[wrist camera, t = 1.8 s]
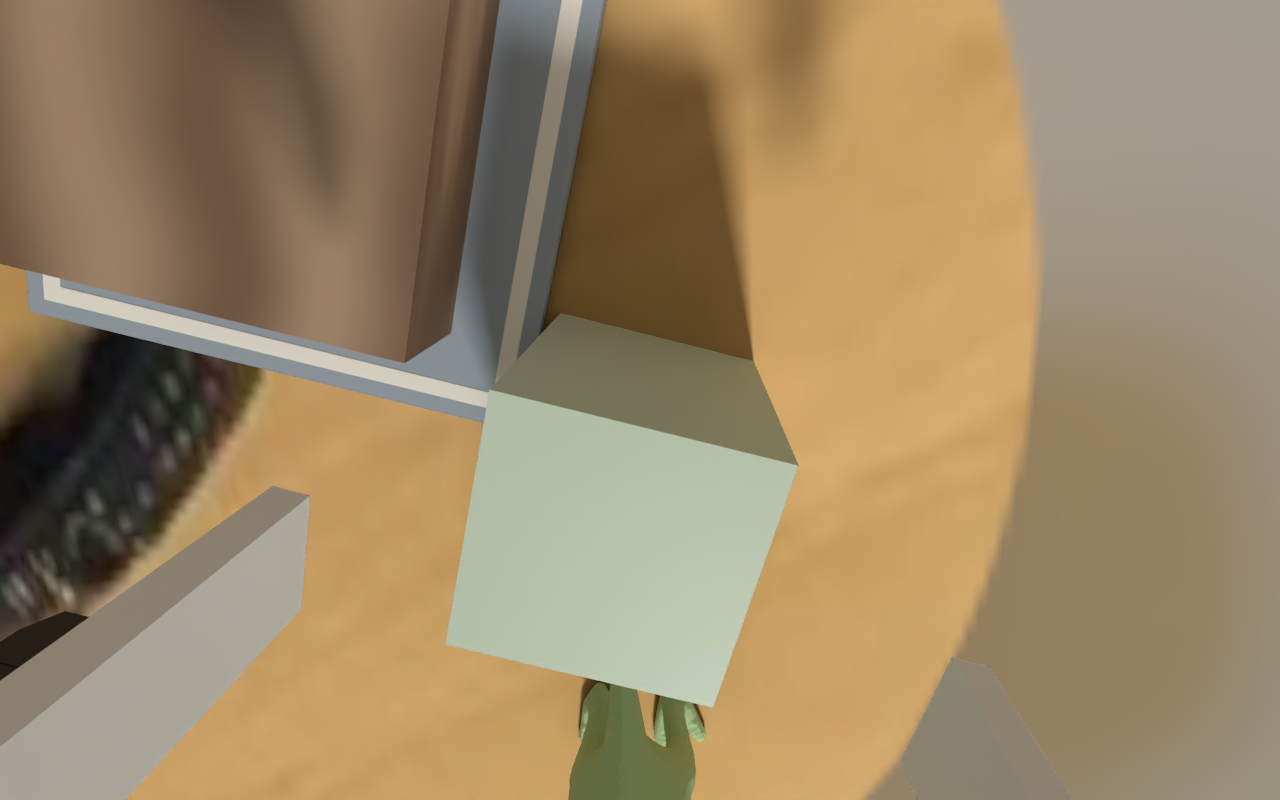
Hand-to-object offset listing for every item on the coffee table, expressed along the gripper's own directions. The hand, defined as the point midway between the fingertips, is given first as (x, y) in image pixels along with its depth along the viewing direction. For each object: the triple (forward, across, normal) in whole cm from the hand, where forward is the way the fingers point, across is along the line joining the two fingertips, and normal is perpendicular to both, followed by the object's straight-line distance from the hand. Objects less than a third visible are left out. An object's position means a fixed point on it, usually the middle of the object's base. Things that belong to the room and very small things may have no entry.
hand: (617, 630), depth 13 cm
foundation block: (+10, -14, +8) cm, 19 cm away
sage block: (+11, -1, 0) cm, 11 cm away
